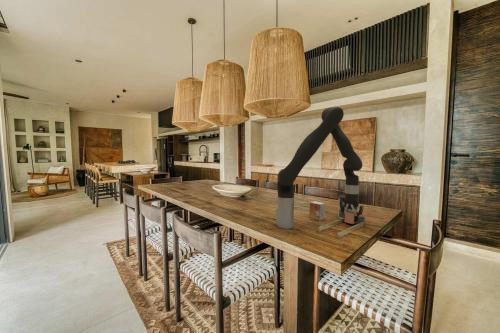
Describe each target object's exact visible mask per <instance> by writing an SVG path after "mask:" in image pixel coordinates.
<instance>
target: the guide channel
mask: <svg viewBox="0 0 500 333" xmlns="http://www.w3.org/2000/svg"><path fill="white" fill-rule="evenodd" d="M365 220H366V217H365V216H363V215H360V216H358V221H357V223H354V224H355V225H354V224H353V226H350V227H348V228H346V229H344V230H342V231H341V230H340V231H339V232H337V234H336V237H337V238H338V239H340V238H342V237H343V236H345V235H348V234H349V233H352V232H354V231H356V230H359V229H360V228H362V227H364V226H365V224H366V223H365V222H366V221H365ZM343 222H344V223H345V219H344V216H343V218H339V219H337V220H333V221H330V222H328V223H326V224H323V225H320V226H318V227H317V231H318V232H323V231H325V230H327V229H329V228H331V227H334V226H336V225H339V224H342V223H343Z"/></svg>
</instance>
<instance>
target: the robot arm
mask: <svg viewBox="0 0 500 333" xmlns="http://www.w3.org/2000/svg"><path fill="white" fill-rule="evenodd" d="M344 114H345V113H344V109H343V108H342V107H339V106H332V107H327V108H324V110H323V111H322V112H321V123H320V124H319V125H318V126H317V127H316V128H315V129H314V130H312V132H310V133H309V134H308V135H307V136H306V137H305V138H304V139H303V141H302V142H301V143H300V145H299V146H298V148H297V150H296V151H295V153H294V155H293V157H292V159H291V161H290V162H289V163H288V164H287V166H286V167H284V168H282V169H280V170H279V171H278V174H277V208H276V213H275V214H276V215H275V216H276V217H275V220H276V221H275V222H276V223H275V225H276V226H277V227H278V228H280V229H284V230H289V229H292V228H294V226H295V224H294V223H295V218H294V217H295V191H294V190H295V189H294V183H295V181H296V179H297V177H298V176H299V174H300V173H301V171H302V169H303V168H304V167H305V166H306V165H307V164H308V162H309V161H310V160H311V159H312V158H313V156H314V155H315V154H316V152H317V151H318V150H319V149H320V148H321V146H322V145H323V143H325V140H327V139H328V137H329V135H330V134H331V136H332V138H333V140H334V142H335V143H336V146H337V148H338V150H339V152H340V155H341V157H342V158H345V160H343V164H342V168H343V173H344V176H345V183H344V185H345V186H344V195H345V201H344V202H339V201H338V205H339V204H340V209H341V212H343V213H344V219H345V212H347V211H348V210H349V209H351V210H353V212H354V214H355V216H354V222H357V221H358V216H363V212H364V210H365V206H364V205H362V204H360V202H359V199H360V198H359V197H360V196H359V195H360V186H359V185H360V184H359V183H360V182H359V179H360V177H359V175H357V174H355V172H359V171H360V170H362V169H363V160H362V159H361V157H360V156H359V155H358V154H357V152H356V151H355V150H354V147H353V145H352V143H351V141H350V139H349V138H348V136H347V135H346V134H345V133H344V131H343V130H342V128H341V126H340V123H341V122H342V120H343V119H344ZM344 204H345V206H346V207H345V209H344ZM358 209H359V210H358Z"/></svg>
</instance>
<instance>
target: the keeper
mask: <svg viewBox="0 0 500 333" xmlns="http://www.w3.org/2000/svg"><path fill="white" fill-rule="evenodd" d="M354 216H355V214H354V212H353V211H347V212H345V221H344V223H348V224H351V225H354V223H357V222H354Z"/></svg>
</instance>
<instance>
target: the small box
mask: <svg viewBox="0 0 500 333" xmlns="http://www.w3.org/2000/svg"><path fill="white" fill-rule="evenodd" d="M325 212H326V203H325V202H319V201H315V200H314V201H310V202H309V212H308V213H309V214H308V216H309V217H308V218H309V219H312V220H316V221H324V220H325V216H326V215H325V214H326V213H325Z"/></svg>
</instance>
